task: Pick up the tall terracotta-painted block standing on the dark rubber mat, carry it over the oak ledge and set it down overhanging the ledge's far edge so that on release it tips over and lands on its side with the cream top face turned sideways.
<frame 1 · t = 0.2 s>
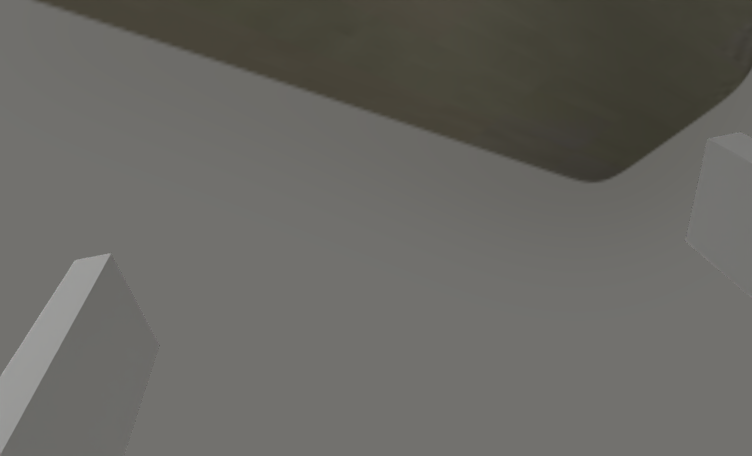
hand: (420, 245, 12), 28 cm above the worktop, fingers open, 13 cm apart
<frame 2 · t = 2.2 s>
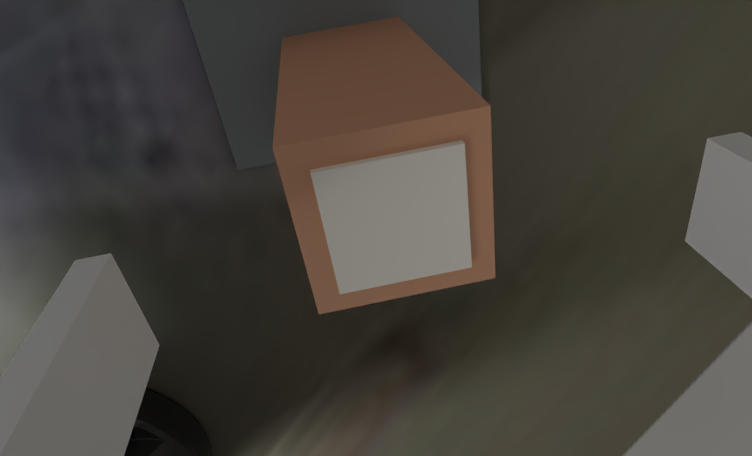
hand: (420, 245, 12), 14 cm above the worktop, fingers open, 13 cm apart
block: (350, 85, 23), resting on mat
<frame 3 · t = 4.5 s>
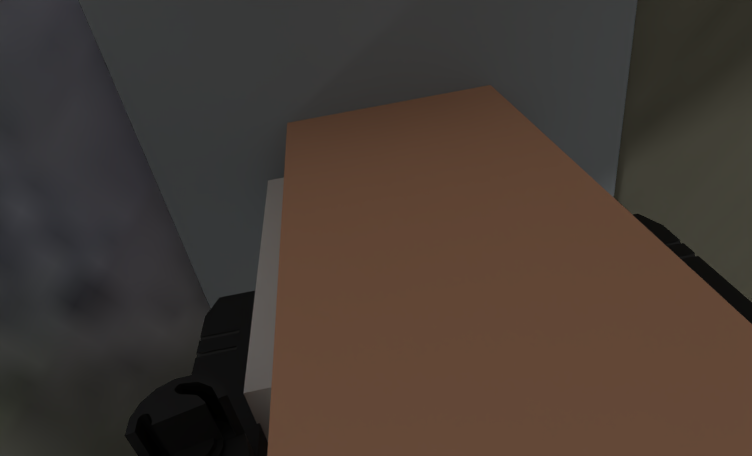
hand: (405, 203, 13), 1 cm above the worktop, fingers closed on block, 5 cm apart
block: (401, 193, 14), resting on mat, touching gripper
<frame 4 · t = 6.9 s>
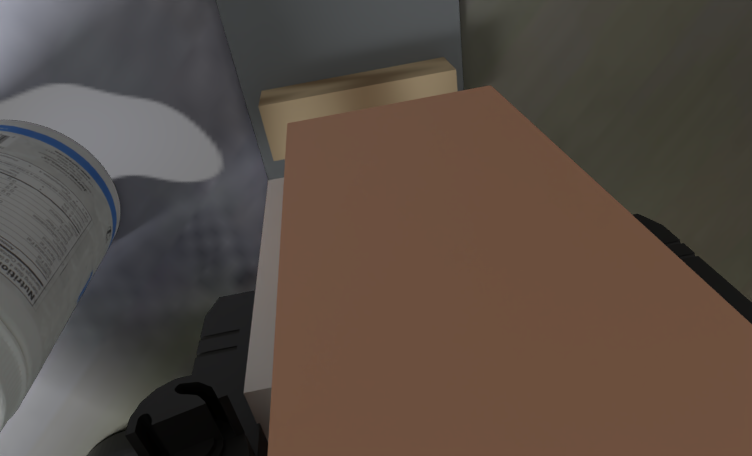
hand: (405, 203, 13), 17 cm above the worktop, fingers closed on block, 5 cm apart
supplement tub: (38, 191, 29), on the worktop
ledge: (357, 98, 29), resting on mat
mat: (354, 80, 28), on the worktop
block: (401, 194, 14), point 16 cm above the worktop, touching gripper
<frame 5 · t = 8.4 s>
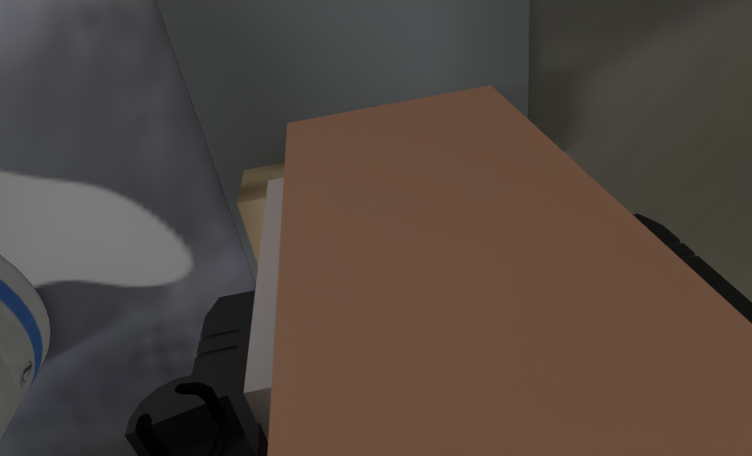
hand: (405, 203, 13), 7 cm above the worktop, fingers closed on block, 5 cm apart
ledge: (378, 175, 21), resting on mat
mat: (375, 153, 20), on the worktop
block: (401, 193, 14), point 6 cm above the worktop, touching gripper
when the fingers open (5 cm above the worktop, at t = 9.6 s): block drops 1 cm and tips over, resting on mat.
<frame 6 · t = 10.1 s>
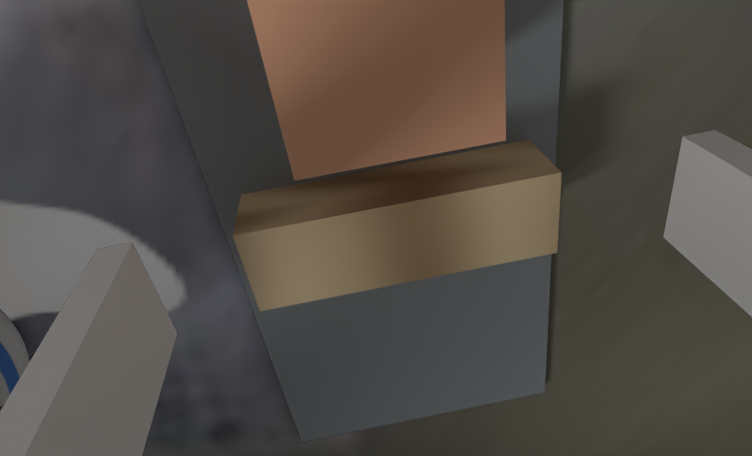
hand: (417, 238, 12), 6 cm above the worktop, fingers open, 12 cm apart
ledge: (390, 199, 19), resting on mat
mat: (386, 174, 18), on the worktop
block: (385, 122, 14), point 3 cm above the worktop, tilted 90°, touching mat
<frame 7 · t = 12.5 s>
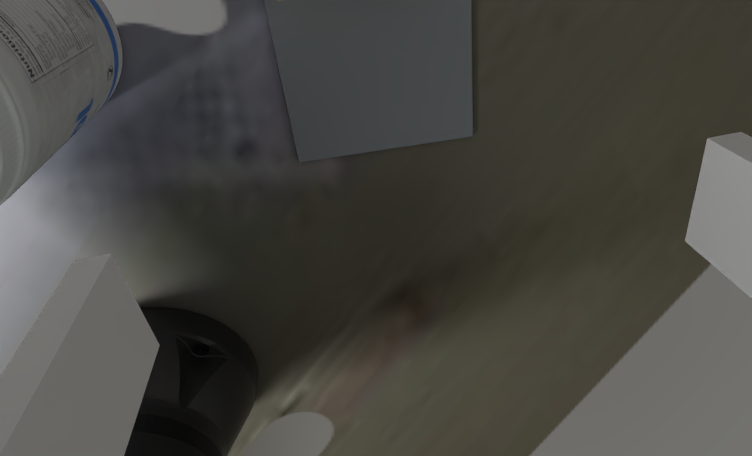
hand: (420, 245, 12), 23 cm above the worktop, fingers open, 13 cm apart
supplement tub: (41, 35, 29), on the worktop
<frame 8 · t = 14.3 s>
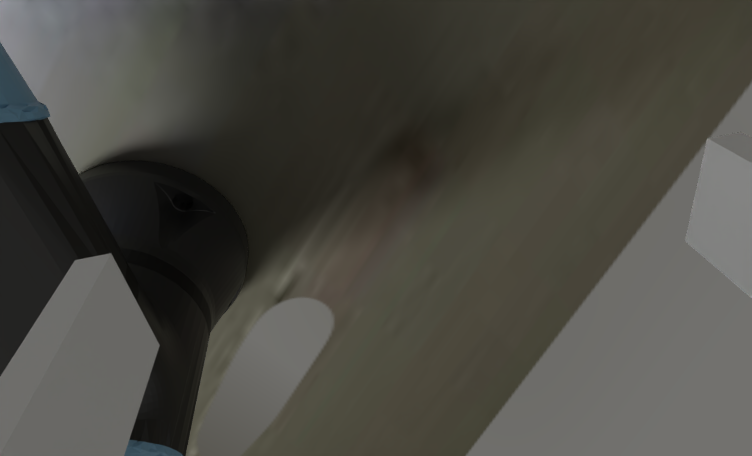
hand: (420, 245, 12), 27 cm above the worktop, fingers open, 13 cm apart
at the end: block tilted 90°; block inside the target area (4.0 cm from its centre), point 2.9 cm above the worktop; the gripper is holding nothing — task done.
